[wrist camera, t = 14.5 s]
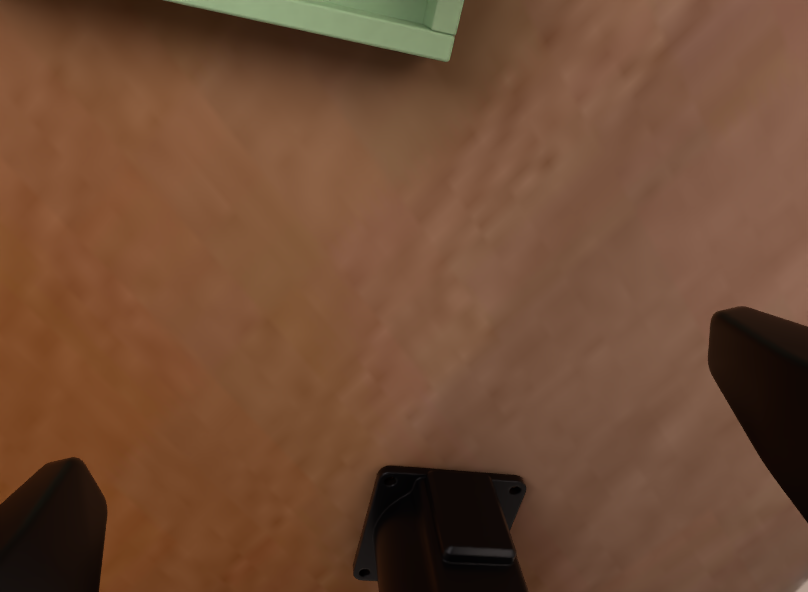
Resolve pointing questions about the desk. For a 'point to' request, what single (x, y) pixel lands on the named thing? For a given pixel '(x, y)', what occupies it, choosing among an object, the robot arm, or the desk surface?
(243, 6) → the tray
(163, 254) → the desk surface
